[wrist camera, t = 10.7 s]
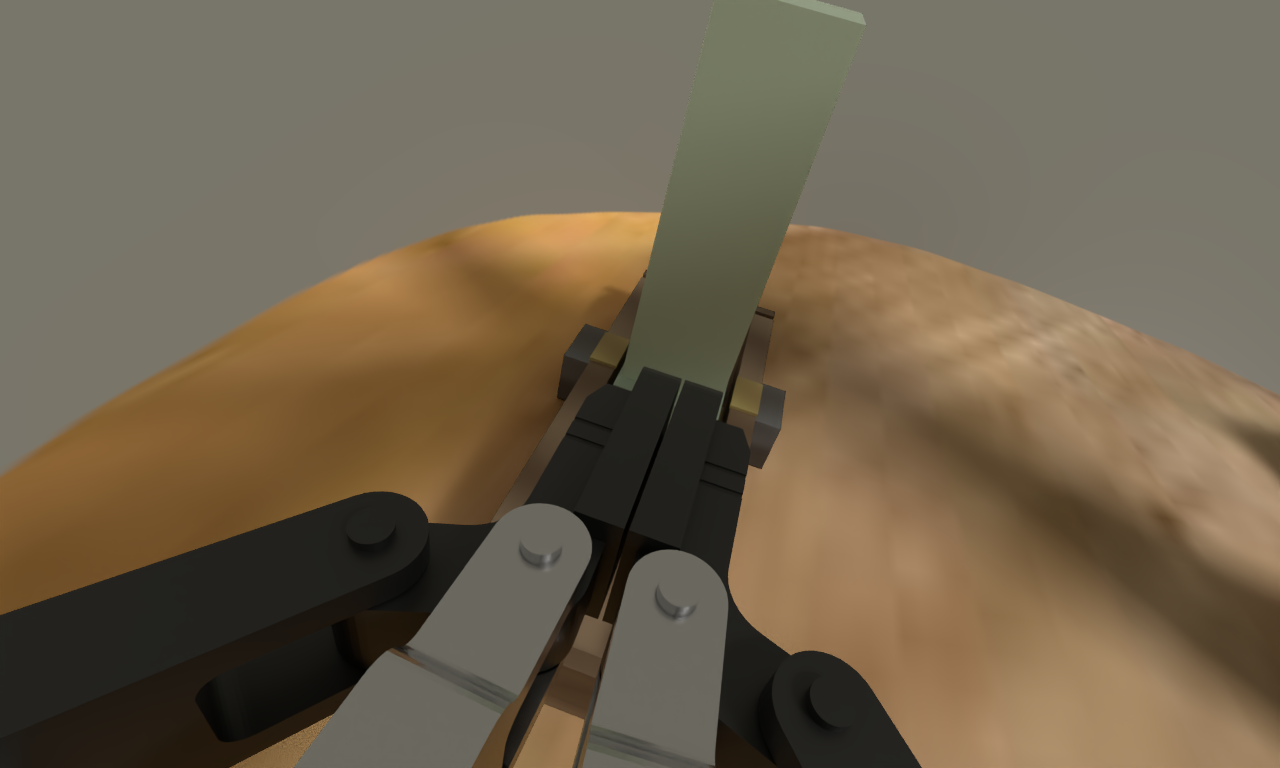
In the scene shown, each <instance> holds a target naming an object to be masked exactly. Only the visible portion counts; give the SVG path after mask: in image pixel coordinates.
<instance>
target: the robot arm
mask: <svg viewBox="0 0 1280 768" xmlns="http://www.w3.org/2000/svg"><path fill="white" fill-rule="evenodd" d="M681 381H682V379H681V378H678V377H675V376H672V375H669V374H666V373H663V372H660V371H657V370H654V369H651V368H648V367H645V366H644V367H643V368H642V370H641V372H640V374H639V376H638V379H637V381H636V383H635V385H634V387H633V389H632V391H628V390H626V389H623V388H620V387H617V386H614V385H611V384H608V383H607V384H606V385H604V386H602V387H601V388H599V389H598V390H596V391H595V392H593V393H592V394H590V395H589V396H587V397H586V399H585V400H584V402H583V404H582V406H581V407H580V409H579V411H578V413H577V414H576V416H575V419H574V420H573V421H572V423H571V425H570V427H569V428H568V430H567V432H566V435H565V437H563V439H562V440H561V442H560V444H559V446H558V447H557V449H556V451H555V453H554V454H553V456H552V458H551V460H550V461H549V463H548V465H547V467H546V468H545V470H544V472H543V474H542V475H541V477H540V479H539V481H538V482H537V484H536V486H535V487H534V489H533V491H532V493H531V494H530V496H529V498H528V499H527V501H526V502H525V503H524V504H523V505H522V506H521V507H518V508H515V509H513V510H512V511H510V512H508V513H507V514H505V515H504V516H503V517H502V518H501V519H500V520H498V521H496V522H492V523H488V524H482V525H455V524H439V523H428V519H427V516H426V514H425V512H424V511H423V509H422V508H421V507H420V506H419V505H418V504H417V503H416V502H415V501H413V500H412V499H410V498H408V497H406V496H403V495H401V494H397V493H393V492H369V493H363V494H360V495H356V496H353V497H350V498H347V499H344V500H341V501H338V502H335V503H332V504H329V505H326V506H323V507H320V508H317V509H314V510H311V511H308V512H305V513H302V514H299V515H296V516H293V517H290V518H287V519H285V520H282V521H279V522H276V523H273V524H270V525H267V526H264V527H261V528H258V529H255V530H252V531H249V532H246V533H243V534H240V535H237V536H234V537H231V538H228V539H225V540H222V541H219V542H216V543H213V544H210V545H207V546H204V547H201V548H198V549H195V550H193V551H190V552H187V553H184V554H181V555H178V556H175V557H172V558H169V559H166V560H163V561H160V562H157V563H154V564H151V565H148V566H145V567H142V568H139V569H136V570H133V571H130V572H127V573H124V574H121V575H118V576H115V577H112V578H109V579H106V580H103V581H100V582H98V583H95V584H92V585H89V586H86V587H83V588H80V589H77V590H74V591H71V592H68V593H65V594H62V595H59V596H56V597H53V598H50V599H47V600H44V601H41V602H38V603H35V604H32V605H29V606H26V607H23V608H20V609H17V610H14V611H11V612H8V613H6V614H3V615H0V768H229V767H231V766H233V765H235V764H237V763H239V762H241V761H243V760H245V759H247V758H249V757H251V756H253V755H255V754H257V753H258V752H260V751H262V750H264V749H266V748H268V747H270V746H272V745H274V744H276V743H278V742H280V741H282V740H284V739H286V738H287V737H289V736H291V735H293V734H295V733H297V732H299V731H301V730H303V729H305V728H307V727H309V726H311V725H313V724H315V723H317V722H318V721H320V720H322V719H324V718H326V717H328V716H330V715H332V714H334V715H333V716H332V717H331V719H330V720H329V721H328V723H327V724H326V725H325V727H324V728H323V729H322V731H321V732H320V733H319V735H318V736H317V737H316V739H315V740H314V741H313V743H312V744H311V745H310V747H309V748H308V749H307V751H306V752H305V753H304V755H303V756H302V757H301V759H300V760H299V761H298V763H297V764H296V765H295V766H294V768H513V767H514V765H515V763H516V761H517V759H518V757H519V754H520V752H521V750H522V748H523V746H524V744H525V742H526V740H527V738H528V736H529V734H530V732H531V730H532V728H533V726H534V723H535V721H536V719H537V717H538V715H539V713H540V711H541V709H542V707H543V705H544V703H545V701H546V699H547V697H548V695H549V693H550V690H551V688H552V686H553V684H554V682H555V680H556V678H557V676H558V674H559V672H560V670H561V668H562V666H563V664H564V661H565V658H566V656H567V654H568V653H569V652H570V650H571V648H572V646H573V644H574V641H575V639H576V636H577V634H578V631H579V629H580V626H581V624H582V621H583V618H584V616H585V615H587V616H590V617H593V618H595V619H598V618H599V615H600V613H601V610H602V607H603V604H604V602H605V599H606V596H607V594H608V591H609V588H610V586H611V583H612V580H613V577H614V575H615V572H616V569H617V567H618V569H617V572H616V576H615V579H614V582H613V586H612V589H611V593H610V596H609V599H608V603H607V606H606V609H605V613H604V616H603V619H602V621H604V622H607V623H610V624H612V628H611V631H610V634H609V638H608V641H607V644H606V647H605V650H604V653H603V656H602V660H601V663H600V666H599V669H598V672H597V675H596V679H595V682H594V686H593V690H592V694H591V698H590V702H589V705H588V709H587V713H586V717H585V721H584V725H583V728H582V732H581V736H580V740H579V744H578V748H577V751H576V755H575V759H574V763H573V767H572V768H922V767H921V766H920V764H919V763H918V761H917V759H916V758H915V756H914V755H913V753H912V752H911V750H910V749H909V747H908V745H907V744H906V742H905V741H904V739H903V738H902V736H901V734H900V733H899V731H898V730H897V728H896V727H895V725H894V724H893V722H892V720H891V719H890V717H889V716H888V714H887V713H886V711H885V709H884V708H883V706H882V705H881V703H880V702H879V700H878V699H877V697H876V695H875V694H874V692H873V691H872V689H871V688H870V686H869V685H868V684H867V682H866V681H865V680H864V679H863V678H862V676H861V675H860V674H859V673H858V672H857V671H856V670H854V669H853V668H852V667H851V666H850V665H848V664H847V663H845V662H844V661H842V660H841V659H839V658H837V657H835V656H833V655H830V654H827V653H824V652H819V651H802V652H798V653H795V654H793V655H789V654H788V653H787V652H785V651H784V650H783V649H781V648H780V647H779V646H777V645H776V644H774V643H773V642H772V641H770V640H769V639H768V638H766V637H765V636H764V635H762V634H761V633H760V632H758V631H757V630H756V629H755V628H754V627H752V626H751V624H750V623H749V622H748V621H747V620H746V619H745V618H744V617H743V615H742V614H741V613H740V611H739V610H738V608H737V606H736V604H735V603H734V601H733V598H732V595H731V593H730V589H729V585H728V569H729V564H730V558H731V553H732V548H733V543H734V537H735V532H736V527H737V522H738V517H739V511H740V506H741V501H742V495H743V490H744V485H745V480H746V479H745V478H746V475H747V469H748V464H749V459H750V454H751V452H750V449H749V445H748V442H747V439H746V436H745V433H744V430H743V429H742V428H739V427H736V426H733V425H730V424H727V423H724V422H721V421H718V420H716V419H717V415H718V411H719V408H720V404H721V400H722V397H723V392H721V391H718V390H715V389H712V388H709V387H706V386H703V385H700V384H697V383H694V382H691V381H688V380H685V382H684V384H683V387H682V390H681V392H680V395H679V398H678V400H677V403H676V406H675V408H674V411H673V414H672V410H673V407H674V404H675V401H676V398H677V394H678V391H679V388H680V384H681ZM671 414H672V416H671ZM670 417H671V419H670ZM669 420H670V422H669ZM668 423H669V424H668ZM620 558H621V559H620ZM619 561H620V562H619ZM618 564H619V566H618Z"/></svg>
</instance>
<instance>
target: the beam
mask: <svg viewBox="0 0 1280 768" xmlns="http://www.w3.org/2000/svg"><path fill="white" fill-rule="evenodd" d="M646 273H647V270H646V271H645V272H644V274H643V277H641V279H640V281H639V282H638V284H637V285H636V287H635V289H634V290H633V292H632V294H631V295H630V297H629V298H628V300H627V302H626V303H625V305H624V306H623V308H622V310H621V311H620V313H619V315H618V316H617V318H616V319H615V321H614V323H613V324H612V326H611V328H610V329H609V331H605V330H602V329H599V328H596V327H593V326H590V325H587V324H585V325H584V327H583V328H582V330H581V331H580V333H579V334H578V336H577V337H576V339H575V340H574V341H573V343H572V344H571V346H570V347H569V349H568V350H567V352H566V353H565V354H564V359H563V365H562V371H561V377H560V383H559V389H558V394H557V398H560V399H563V400H566V401H565V402H564V404H563V405H562V407H561V409H560V410H559V412H558V414H557V415H556V417H555V418H554V420H553V422H552V423H551V425H550V426H549V428H548V430H547V431H546V433H545V435H544V436H543V438H542V439H541V441H540V443H539V444H538V446H537V448H536V449H535V451H534V452H533V454H532V456H531V457H530V459H529V461H528V462H527V464H526V465H525V467H524V469H523V470H522V472H521V474H520V475H519V477H518V478H517V480H516V482H515V483H514V485H513V486H512V488H511V490H510V491H509V493H508V495H507V496H506V498H505V499H504V501H503V503H502V504H501V506H500V508H499V509H498V511H497V512H496V514H495V516H494V517H493V519H492V521H491V522H490V523H492V522H496V521H498V520H500V519H501V518H502V517H503V516H504V515H505V514H507V513H508V512H510V511H512V510H513V509H515V508H518V507H521V506H522V505H523V504H524V503H525V502H526V501H527V499H528V498H529V496H530V494H531V493H532V491H533V489H534V487H535V486H536V484H537V482H538V481H539V479H540V477H541V475H542V474H543V472H544V470H545V468H546V467H547V465H548V463H549V461H550V460H551V458H552V456H553V454H554V453H555V451H556V449H557V447H558V446H559V444H560V442H561V440H562V439H563V437H565V435H566V432H567V430H568V428H569V427H570V425H571V423H572V421H573V420H574V419H575V416H576V414H577V413H578V411H579V409H580V407H581V406H582V404H583V402H584V400H585V399H586V397H587V396H589V395H590V394H592V393H593V392H595V391H596V390H598V389H599V388H601V387H602V386H604V385H606V384H607V383H608V384H611V385H613V384H614V382H615V380H616V378H617V376H618V374H619V372H620V370H621V369H622V367H623V365H624V363H625V359H626V355H627V351H628V347H629V343H630V339H631V334H632V330H633V326H634V322H635V318H636V314H637V310H638V306H639V302H640V298H641V294H642V290H643V286H644V282H645V277H646ZM774 315H775V312H774V311H771V310H768V309H764V308H761V307H758V306H757V308H756V311H755V314H754V316H753V319H752V321H751V324H750V326H749V329H748V332H747V334H746V337H745V339H744V342H743V344H742V347H741V350H740V352H739V355H738V357H737V360H736V363H735V365H734V368H733V370H732V373H731V375H730V378H729V381H728V384H727V388H726V392H725V396H724V400H723V403H722V407H721V411H720V415H719V419H718V421H721V422H724V423H727V424H730V425H733V426H736V427H739V428H742V429H743V430H744V433H745V436H746V439H747V442H748V445H749V449H750V452H751V454H750V459H749V465H752V466H755V467H758V468H761V469H762V467H763V465H764V463H765V461H766V459H767V456H768V454H769V452H770V450H771V448H772V446H773V444H774V442H775V440H776V438H777V436H778V434H779V432H780V430H781V423H782V415H783V407H784V399H785V392H786V391H783V390H780V389H777V388H774V387H771V386H768V385H765V384H762V380H763V374H764V369H765V364H766V358H767V353H768V347H769V342H770V336H771V331H772V326H773V318H774ZM620 559H621V558H620ZM619 562H620V561H619ZM618 566H619V564H618ZM617 569H618V567H617ZM617 569H616V572H617ZM616 572H615V575H614V577H613V580H612V583H611V586H610V588H609V591H608V594H607V596H606V599H605V602H604V604H603V607H602V610H601V613H600V615H599V618H598V619H595V618H593V617H590V616H587V615H585V616H584V618H583V621H582V624H581V626H580V629H579V631H578V634H577V636H576V639H575V641H574V644H573V646H572V648H571V650H570V652H569V653H568V654H567V656H566V658H565V661H564V664H563V666H562V668H561V670H560V672H559V674H558V676H557V678H556V680H555V682H554V684H553V686H552V688H551V690H550V693H549V695H548V697H547V699H546V701H545V703H544V704H547V705H549V706H552V707H554V708H557V709H560V710H562V711H565V712H567V713H570V714H572V715H575V716H577V717H580V718H582V719H585V717H586V713H587V709H588V705H589V702H590V698H591V694H592V690H593V686H594V682H595V679H596V675H597V672H598V669H599V666H600V663H601V660H602V656H603V653H604V650H605V647H606V644H607V641H608V638H609V634H610V631H611V628H612V624H610V623H607V622H604V621H602V619H603V616H604V613H605V609H606V606H607V603H608V599H609V596H610V593H611V589H612V586H613V582H614V579H615V576H616Z"/></svg>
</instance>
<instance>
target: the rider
mask: <svg viewBox="0 0 1280 768" xmlns="http://www.w3.org/2000/svg"><path fill="white" fill-rule="evenodd" d="M865 27H866V23H865V21H864V18H863V15H862V13H859V12H855V11H852V10H849V9H845V8H841V7H838V6H834V5H831V4H827V3H823V2H820V1H816V0H714V1H713V5H712V9H711V14H710V17H709V21H708V25H707V29H706V33H705V37H704V42H703V46H702V50H701V54H700V58H699V62H698V66H697V70H696V74H695V78H694V82H693V86H692V90H691V95H690V99H689V103H688V107H687V111H686V115H685V119H684V123H683V127H682V131H681V135H680V139H679V143H678V147H677V151H676V155H675V160H674V164H673V168H672V172H671V176H670V180H669V184H668V188H667V192H666V196H665V200H664V204H663V208H662V212H661V216H660V221H659V225H658V229H657V233H656V237H655V241H654V245H653V249H652V253H651V257H650V261H649V265H648V269H647V273H646V277H645V282H644V286H643V290H642V294H641V298H640V302H639V306H638V310H637V314H636V318H635V322H634V326H633V330H632V334H631V339H630V343H629V347H628V351H627V355H626V359H625V363H624V365H623V367H622V369H621V370H620V372H619V374H618V376H617V378H616V380H615V382H614V384H613V385H614V386H617V387H620V388H623V389H626V390H628V391H632V389H633V387H634V385H635V383H636V381H637V379H638V376H639V374H640V372H641V370H642V368H643V367H644V366H645V367H648V368H651V369H654V370H657V371H660V372H663V373H666V374H669V375H672V376H675V377H678V378H681V379H682V381H681V384H680V388H679V391H678V394H677V398H676V401H675V404H674V407H673V410H672V414H673V411H674V408H675V406H676V403H677V400H678V398H679V395H680V392H681V390H682V387H683V384H684V382H685V380H688V381H691V382H694V383H697V384H700V385H703V386H706V387H709V388H712V389H715V390H718V391H721V392H723V397H722V400H721V404H720V408H719V411H718V415H717V419H716V420H718V419H719V415H720V411H721V407H722V403H723V400H724V396H725V392H726V388H727V384H728V381H729V378H730V375H731V373H732V370H733V368H734V365H735V363H736V360H737V357H738V355H739V352H740V350H741V347H742V344H743V342H744V339H745V337H746V334H747V332H748V329H749V326H750V324H751V321H752V319H753V316H754V314H755V311H756V308H757V306H758V303H759V301H760V298H761V295H762V293H763V290H764V288H765V285H766V283H767V280H768V277H769V275H770V272H771V270H772V267H773V265H774V262H775V259H776V257H777V254H778V252H779V249H780V246H781V244H782V241H783V239H784V236H785V234H786V231H787V228H788V226H789V223H790V221H791V218H792V215H793V213H794V210H795V208H796V205H797V203H798V200H799V197H800V195H801V192H802V190H803V187H804V185H805V182H806V179H807V177H808V174H809V172H810V169H811V166H812V164H813V161H814V159H815V156H816V153H817V151H818V148H819V146H820V143H821V141H822V138H823V136H824V133H825V130H826V128H827V125H828V122H829V120H830V117H831V115H832V112H833V110H834V107H835V105H836V102H837V99H838V97H839V94H840V92H841V89H842V86H843V84H844V81H845V79H846V76H847V74H848V71H849V68H850V66H851V63H852V61H853V58H854V56H855V53H856V50H857V48H858V45H859V43H860V40H861V37H862V35H863V32H864V30H865ZM672 414H671V416H672ZM670 419H671V417H670ZM669 422H670V420H669ZM668 424H669V423H668Z"/></svg>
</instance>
